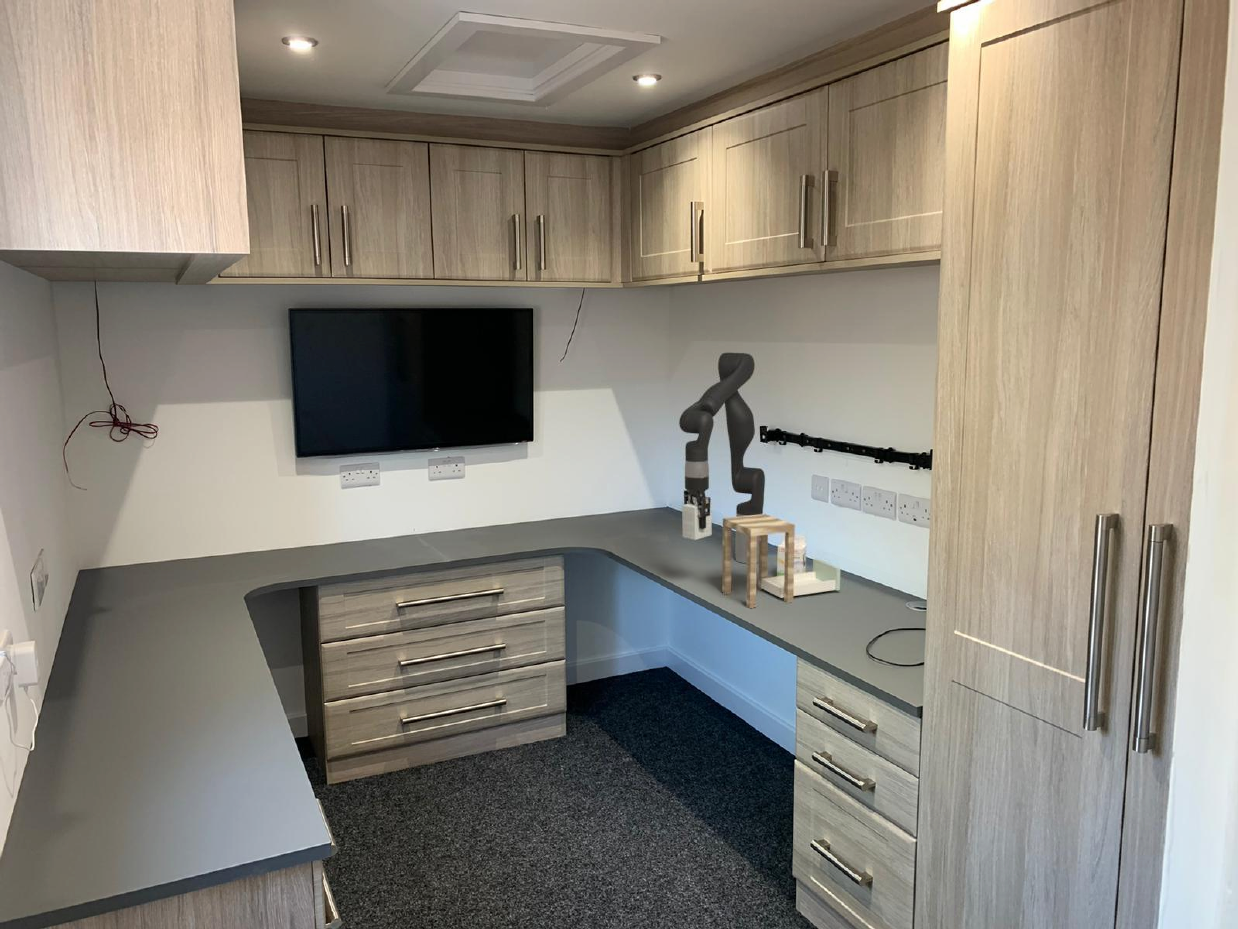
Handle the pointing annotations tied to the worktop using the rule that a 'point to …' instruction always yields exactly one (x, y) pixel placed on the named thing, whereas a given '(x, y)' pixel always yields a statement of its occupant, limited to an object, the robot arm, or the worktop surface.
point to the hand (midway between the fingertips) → (697, 525)
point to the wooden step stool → (753, 528)
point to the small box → (694, 523)
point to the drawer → (807, 580)
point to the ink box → (798, 556)
